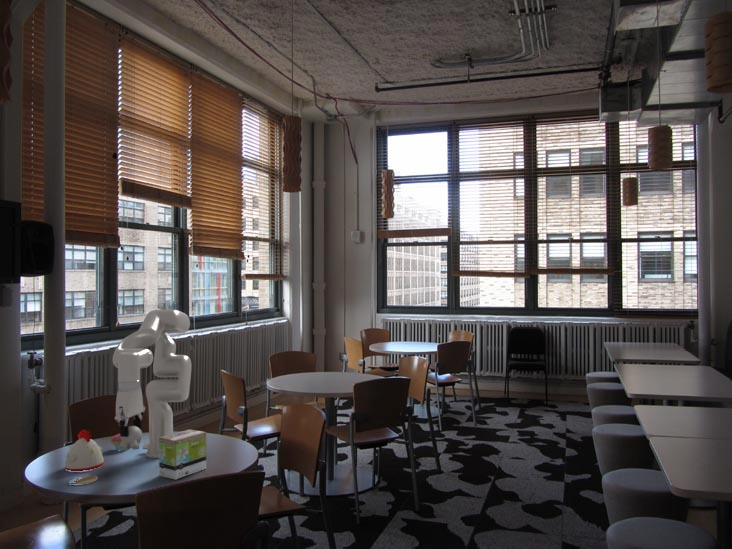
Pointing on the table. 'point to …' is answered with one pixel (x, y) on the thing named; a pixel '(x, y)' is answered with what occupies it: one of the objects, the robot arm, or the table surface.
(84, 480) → the cork coaster
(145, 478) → the table surface
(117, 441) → the cupcake
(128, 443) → the chubby cartoon animal
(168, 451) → the tea box
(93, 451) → the white cream cake
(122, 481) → the table surface
